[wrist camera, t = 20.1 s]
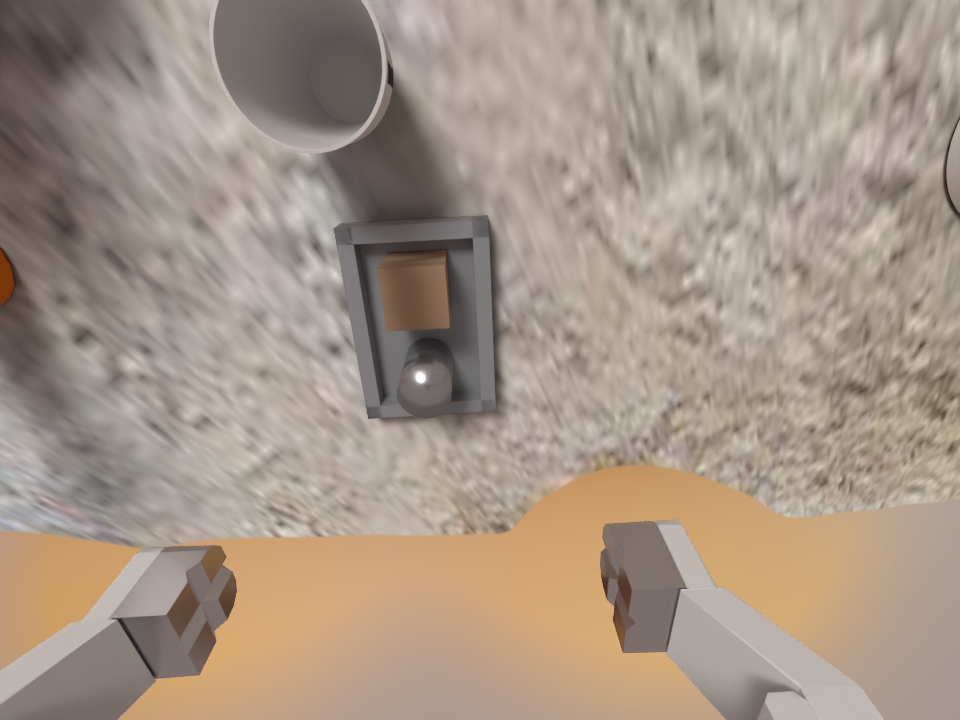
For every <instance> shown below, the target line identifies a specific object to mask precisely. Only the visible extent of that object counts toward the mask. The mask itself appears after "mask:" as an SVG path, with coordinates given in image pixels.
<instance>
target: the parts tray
mask: <svg viewBox="0 0 960 720" xmlns="http://www.w3.org/2000/svg"><path fill="white" fill-rule="evenodd" d="M334 233H335V238H336V244H337V249H338V255H339V260H340V266H341V271H342V277H343V282H344V288H345V293H346V299H347V304H348V310H349V315H350V321H351V326H352V332H353V337H354V343H355V348H356V354H357V359H358V365H359V370H360V376H361V381H362V386H363V392H364V397H365V403H366V408H367V414H368V419H373V418H390V417H406V416H413V415H411V414H409V413H408V412H406V411H405V410H404V409H403V408H402V407H401V405H400V404H399V402H398V399H397V388H398V384H399V380H400V376H401V373H402V369H403V365H404V361H405V357H406V353H407V350H408V349H409V347H410V346H411V345H412V344H413V343H414V342H415V341H417V340H419V339H423V338H435V339H438V340H440V341H442V342H444V343H445V344H446V345H447V346H448V347H449V349H450V350H451V352H452V356H453V369H452V394H451V401H450V403H449V405H448V407H447V408H446V409H445V410H444V411H443V412H442V413H440V414H456V413H473V412H490V411H496V402H495V376H494V349H493V323H492V296H491V270H490V243H489V220H488V217H487V215H484V216H466V217H448V218H429V219H411V220H393V221H374V222H356V223H341V224H339V225H338V226H336V227H335V228H334ZM440 249H447V256H448V269H449V282H450V294H451V319H450V328H440V329H423V330H406V331H388V332H386V325H385V318H384V311H383V304H382V298H381V291H380V284H379V277H378V270H377V269H378V267H379V266H380V264H381V263H382V261H383V260H384V258H385V256H386V255H387V253H388V252H404V251H422V250H440ZM440 414H439V415H440Z"/></svg>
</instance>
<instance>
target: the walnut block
mask: <svg viewBox="0 0 960 720" xmlns="http://www.w3.org/2000/svg"><path fill="white" fill-rule="evenodd" d="M377 270H378V277H379V284H380V291H381V298H382V304H383V311H384V318H385V325H386V332H388V331H406V330H423V329H440V328H450V319H451V294H450V282H449V269H448V256H447V249H440V250H422V251H404V252H388V253H387V255H386V256H385V258H384V260H383V261H382V263H381V264H380V266H379V267H378V269H377Z"/></svg>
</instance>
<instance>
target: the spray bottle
mask: <svg viewBox="0 0 960 720" xmlns="http://www.w3.org/2000/svg"><path fill="white" fill-rule="evenodd" d="M14 284H15V283H14V278H13V273H12V268H11V266H10V264H9V262H8V261H7V259H6V257H5V256H4V254H3V253H2V251H1V249H0V306H1V305H2V304H3V303H5V302H6V301H7V300H9V299H10V297H11V294H12V291H13V288H14Z"/></svg>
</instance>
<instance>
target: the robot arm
mask: <svg viewBox="0 0 960 720" xmlns="http://www.w3.org/2000/svg"><path fill="white" fill-rule="evenodd" d="M947 186H948V191H949V194H950V198H951V200H952V202H953V204H954V206H955V208H956V209H957V210H958V212H959V213H960V120H959V123H958V125H957V127H956V130H955V132H954V135H953V138H952V141H951V145H950V149H949V154H948V160H947ZM602 537H603V541H604V544H605V547H606V548H605V549H604V550H603V551H602V552H601V560H600V567H601V577H602V583H603V587H604V591H605V594H606V598H607V600H608V601H609V602H610V603H611V604H613V605H614V616H613V622H614V625H615V628H616V632H617V635H618V638H619V641H620V645H621V648H622V651H623V653H639V652H667V655H668V656H669V658H670V659H671V660H672V661H673V662H674V663H675V664H676V665H677V666H678V667H679V669H680V670H681V671H682V672H683V673H684V674H685V675H686V676H687V677H688V678H689V679H690V681H691V682H692V683H693V684H694V685H695V686H696V687H697V688H698V689H699V690H700V691H701V693H702V694H703V695H704V696H705V697H706V698H707V699H708V700H709V701H710V702H711V704H713V706H714V707H715V708H716V709H717V710H718V711H719V712H720V713H721V714H722V716H724V718H725V719H726V720H883V718H882V717H881V715H880V714H879V712H878V711H877V710H876V708H875V707H874V705H873V704H872V703H871V701H870V700H869V698H868V697H867V696H866V694H865V693H864V691H863V690H862V688H861V687H860V686H859V685H858V684H856V683H855V682H854V681H852V680H851V679H849V678H848V677H847V676H845V675H844V674H843V673H841V672H840V671H838V670H837V669H836V668H834V667H833V666H831V665H830V664H829V663H828V662H826V661H825V660H823V659H822V658H820V657H819V656H818V655H817V654H815V653H814V652H812V651H811V650H810V649H808V648H807V647H806V646H804V645H803V644H802V643H800V642H799V641H797V640H796V639H795V638H793V637H792V636H791V635H789V634H788V633H786V632H785V631H784V630H782V629H781V628H780V627H778V626H777V625H776V624H774V623H773V622H771V621H770V620H769V619H767V618H766V617H765V616H763V615H762V614H761V613H759V612H758V611H756V610H755V609H754V608H752V607H751V606H750V605H748V604H747V603H745V602H744V601H743V600H741V599H740V598H739V597H737V596H736V595H734V594H733V593H732V592H730V591H729V590H728V589H726V588H725V587H716V585H715V583H714V581H713V580H712V578H711V576H710V574H709V572H708V571H707V569H706V567H705V565H704V563H703V562H702V560H701V558H700V556H699V555H698V553H697V551H696V549H695V547H694V546H693V544H692V542H691V540H690V539H689V537H688V535H687V533H686V531H685V529H684V528H683V526H682V524H681V523H680V522H679V521H678V520H662V521H652V522H651V521H644V522H629V523H613V524H605V526H604V529H603V536H602ZM225 559H226V555H225V554H224V551H223V549H222V547H221V546H215V545H214V546H213V545H211V546H173V547H152V548H144V549H142V550H141V551H139V552H137V553H136V554H135V555H134V557H133V558H132V559H131V560H130V562H129V563H128V564H127V565H126V566H125V568H124V569H123V570H122V571H121V573H120V574H119V575H118V576H117V578H116V579H115V580H114V581H113V583H112V584H111V585H110V586H109V588H108V589H107V590H106V592H105V593H104V594H103V595H102V596H101V598H100V599H99V600H98V601H97V603H96V604H95V605H94V606H93V608H92V609H91V610H90V611H89V613H88V614H87V615H86V616H85V618H84V619H83V620H82V621H75V622H72V623H71V624H69V625H68V626H66V627H65V628H63V629H62V630H60V631H59V632H57V633H56V634H55V635H53V636H51V637H50V638H48V639H47V640H45V641H44V642H43V643H41V644H40V645H38V646H36V647H35V648H33V649H32V650H30V651H29V652H28V653H26V654H25V655H23V656H21V657H20V658H19V659H17V660H16V661H14V662H12V663H11V664H10V665H8V666H7V667H5V668H4V669H2V670H1V671H0V720H117V719H118V718H119V717H120V716H121V715H122V714H123V713H124V712H125V711H126V710H127V709H128V708H129V707H130V706H131V705H132V704H133V703H134V702H135V701H136V700H137V699H138V698H139V697H140V696H141V695H142V694H143V693H144V692H145V691H146V690H147V689H148V688H149V687H150V686H151V685H152V684H153V683H154V682H155V679H159V678H171V677H183V676H194V675H200V673H201V671H202V669H203V667H204V665H205V663H206V661H207V659H208V657H209V655H210V653H211V651H212V649H213V647H214V645H215V643H216V637H215V632H214V630H216V629H217V628H218V627H219V626H220V625H221V624H223V623H224V622H225V621H226V620H227V619H228V617H229V615H230V613H231V610H232V608H233V606H234V602H235V597H236V592H237V588H236V579H235V577H234V574H233V572H232V571H230V570H229V569H228V568H226V567H225V566H223V565H222V564H223V562H224V561H225Z"/></svg>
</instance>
